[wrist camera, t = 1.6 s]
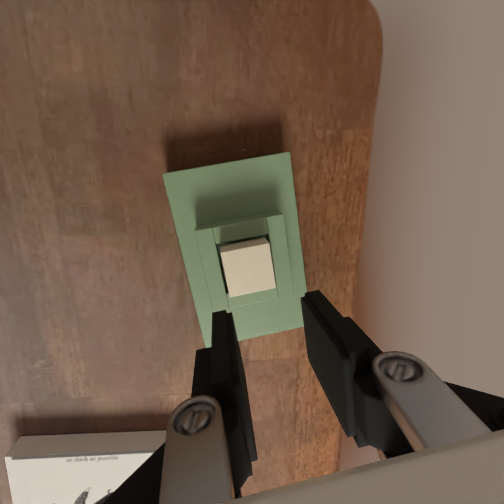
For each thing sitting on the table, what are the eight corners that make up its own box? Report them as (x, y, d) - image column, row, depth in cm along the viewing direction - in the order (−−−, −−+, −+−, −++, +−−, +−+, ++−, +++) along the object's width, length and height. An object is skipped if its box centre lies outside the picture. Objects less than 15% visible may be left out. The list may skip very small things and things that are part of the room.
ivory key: (219, 245, 20) (220, 252, 18) (264, 237, 20) (269, 242, 18) (228, 287, 21) (229, 297, 19) (271, 278, 21) (276, 288, 19)
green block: (166, 173, 21) (156, 173, 18) (282, 153, 22) (296, 149, 18) (206, 334, 25) (204, 362, 22) (303, 312, 26) (318, 336, 22)
